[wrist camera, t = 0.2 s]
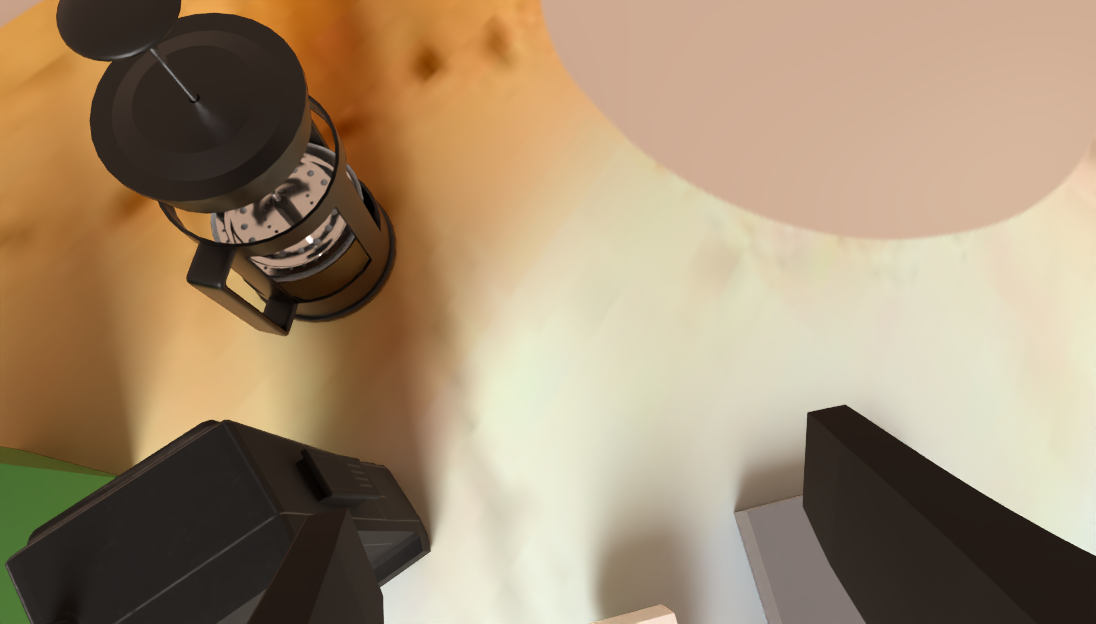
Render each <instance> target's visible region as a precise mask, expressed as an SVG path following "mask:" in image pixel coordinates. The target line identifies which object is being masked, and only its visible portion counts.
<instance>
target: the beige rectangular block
mask: <svg viewBox="0 0 1096 624" xmlns="http://www.w3.org/2000/svg"><path fill="white" fill-rule="evenodd" d="M589 624H677V620H676V617H675V613H674V612H672V611H671V610H670V609H668V608H667V607H665V606H664V605H662V604H660V605H656V606H653V607H649V608H645V609H641V610H638V611H634V612H630V613H626V614H623V615H619V616H615V617H611V618H608V619H604V620H600V621H596V622H593V623H589Z"/></svg>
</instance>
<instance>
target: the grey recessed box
mask: <svg viewBox="0 0 1096 624" xmlns="http://www.w3.org/2000/svg"><path fill="white" fill-rule="evenodd" d="M734 515H735V518H736V522H737V525H738V528H739V531H740V534H741V538H742V541H743V544H744V547H745V551H746V554H747V557H748V560H749V563H750V567H751V570H752V573H753V576H754V580H755V583H756V586H757V589H758V592H759V596H760V599H761V602H762V605H763V609H764V612H765V615H766V618H767V621H768V624H866V623H865V621H864V620H863V618H862V617H861V615H860V613H859V612H858V610H857V609H856V607H855V605H854V604H853V602H852V600H851V599H850V597H849V596H848V594H847V592H846V591H845V589H844V587H843V586H842V584H841V583H840V581H839V579H838V578H837V576H836V574H835V573H834V571H833V569H832V568H831V566H830V564H829V562H828V560H827V558H826V556H825V554H824V552H823V550H822V548H821V546H820V544H819V541H818V539H817V537H816V535H815V533H814V531H813V528H812V526H811V524H810V522H809V519H808V517H807V515H806V513H805V511H804V508H803V495H799V496H795V497H792V498H788V499H784V500H780V501H776V502H772V503H769V504H765V505H761V506H757V507H753V508H749V509H746V510H742V511H738V512H734Z"/></svg>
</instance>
